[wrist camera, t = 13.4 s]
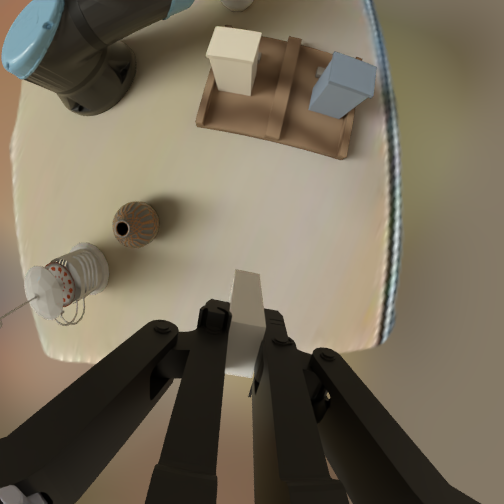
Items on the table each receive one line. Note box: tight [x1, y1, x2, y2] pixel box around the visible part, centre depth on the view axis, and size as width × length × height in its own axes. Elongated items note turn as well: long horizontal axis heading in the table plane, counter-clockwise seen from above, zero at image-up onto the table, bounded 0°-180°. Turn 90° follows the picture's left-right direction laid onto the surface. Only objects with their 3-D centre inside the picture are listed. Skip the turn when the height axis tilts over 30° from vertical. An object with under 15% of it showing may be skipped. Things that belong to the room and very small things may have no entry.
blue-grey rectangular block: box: [309, 52, 377, 119], centre depth 33 cm, size 4×5×13 cm
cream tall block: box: [206, 26, 262, 96], centre depth 32 cm, size 4×5×13 cm
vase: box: [113, 202, 159, 248], centre depth 39 cm, size 7×7×9 cm
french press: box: [0, 243, 109, 328], centre depth 33 cm, size 10×12×25 cm
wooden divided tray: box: [195, 25, 362, 160], centre depth 38 cm, size 18×23×4 cm
